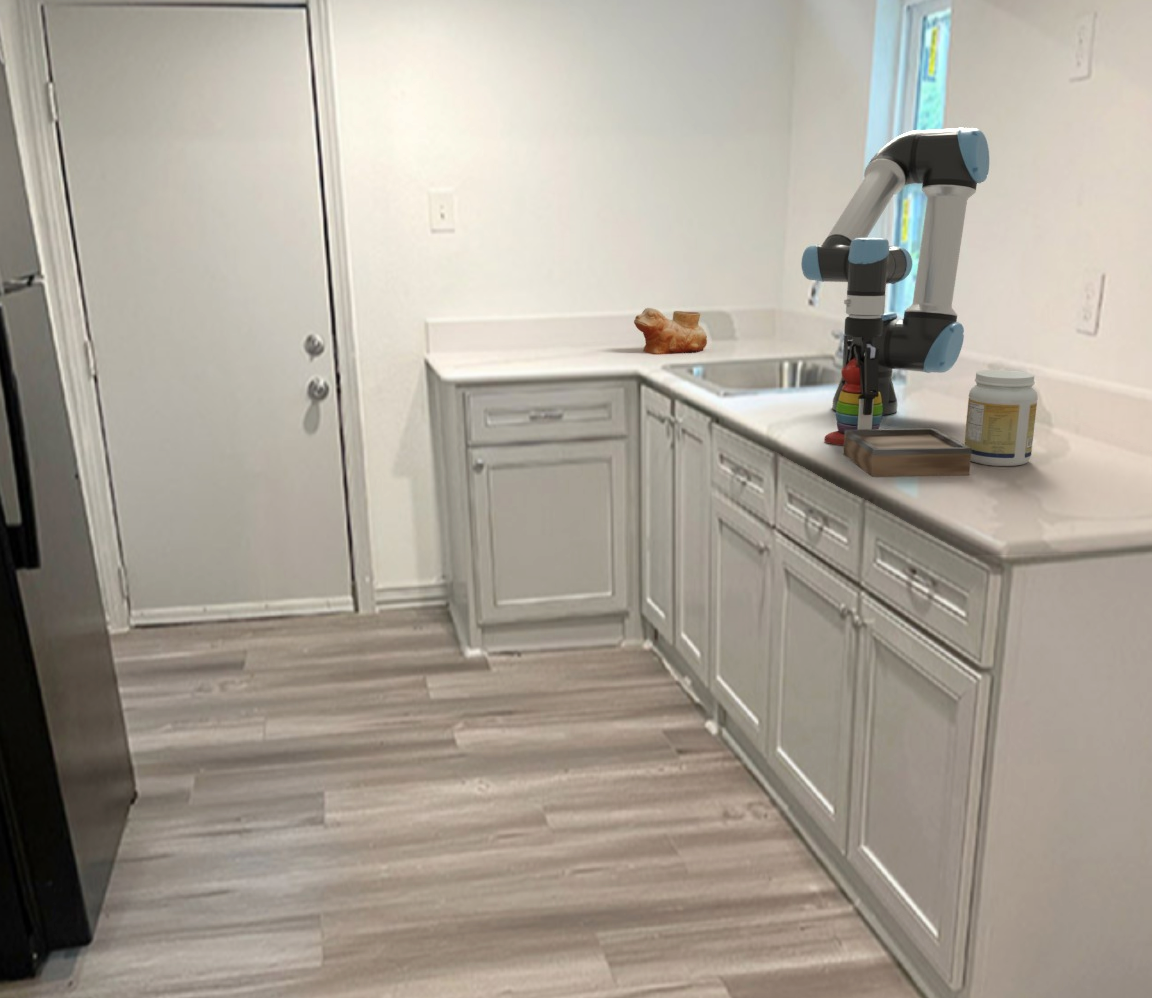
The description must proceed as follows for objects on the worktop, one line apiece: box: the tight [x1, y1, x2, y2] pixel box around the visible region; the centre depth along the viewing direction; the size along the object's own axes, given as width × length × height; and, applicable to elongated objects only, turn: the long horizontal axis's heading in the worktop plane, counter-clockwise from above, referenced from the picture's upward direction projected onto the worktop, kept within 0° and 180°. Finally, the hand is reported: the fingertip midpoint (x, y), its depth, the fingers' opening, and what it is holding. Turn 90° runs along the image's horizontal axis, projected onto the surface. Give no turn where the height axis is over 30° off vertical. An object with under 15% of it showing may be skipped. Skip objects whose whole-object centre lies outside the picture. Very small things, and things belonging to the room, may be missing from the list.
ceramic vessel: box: [633, 307, 708, 356], centre depth 356 cm, size 14×26×15 cm, turn 108°
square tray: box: [842, 427, 972, 478], centre depth 199 cm, size 18×18×5 cm
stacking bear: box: [824, 358, 883, 446], centre depth 217 cm, size 11×10×18 cm
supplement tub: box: [963, 369, 1038, 467], centre depth 201 cm, size 12×12×17 cm
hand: (856, 425), depth 218 cm, fingers closed on stacking bear, 9 cm apart
